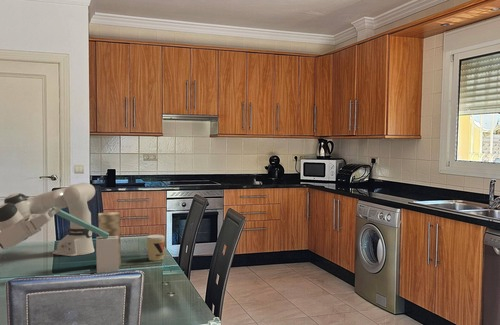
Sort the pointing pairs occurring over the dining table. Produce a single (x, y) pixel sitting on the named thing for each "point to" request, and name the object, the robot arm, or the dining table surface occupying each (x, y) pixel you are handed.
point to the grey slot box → (107, 254)
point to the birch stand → (110, 225)
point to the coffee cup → (155, 247)
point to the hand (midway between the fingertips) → (60, 207)
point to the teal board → (82, 223)
